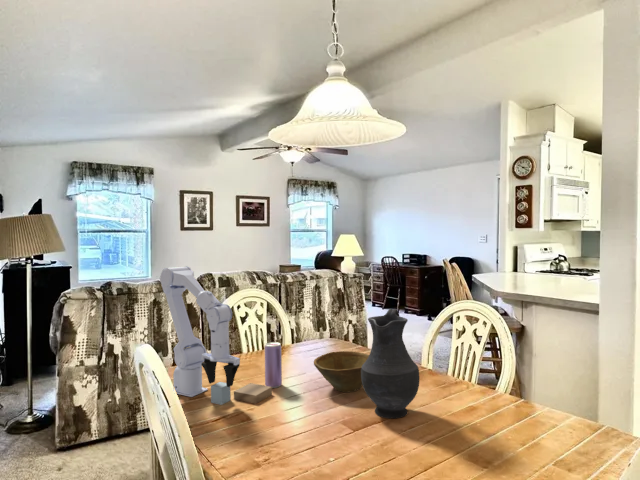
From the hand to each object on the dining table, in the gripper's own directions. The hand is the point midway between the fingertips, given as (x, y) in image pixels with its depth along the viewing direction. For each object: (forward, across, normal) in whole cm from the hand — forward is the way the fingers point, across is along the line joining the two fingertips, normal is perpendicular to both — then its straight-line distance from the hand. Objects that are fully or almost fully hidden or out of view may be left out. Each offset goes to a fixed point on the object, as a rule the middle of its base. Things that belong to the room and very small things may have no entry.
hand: (220, 384), depth 142 cm
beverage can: (+6, +7, +20) cm, 22 cm away
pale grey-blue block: (+6, 0, 0) cm, 6 cm away
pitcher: (+6, +52, +18) cm, 55 cm away
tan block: (+6, +7, +8) cm, 12 cm away
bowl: (+6, +31, +30) cm, 43 cm away
